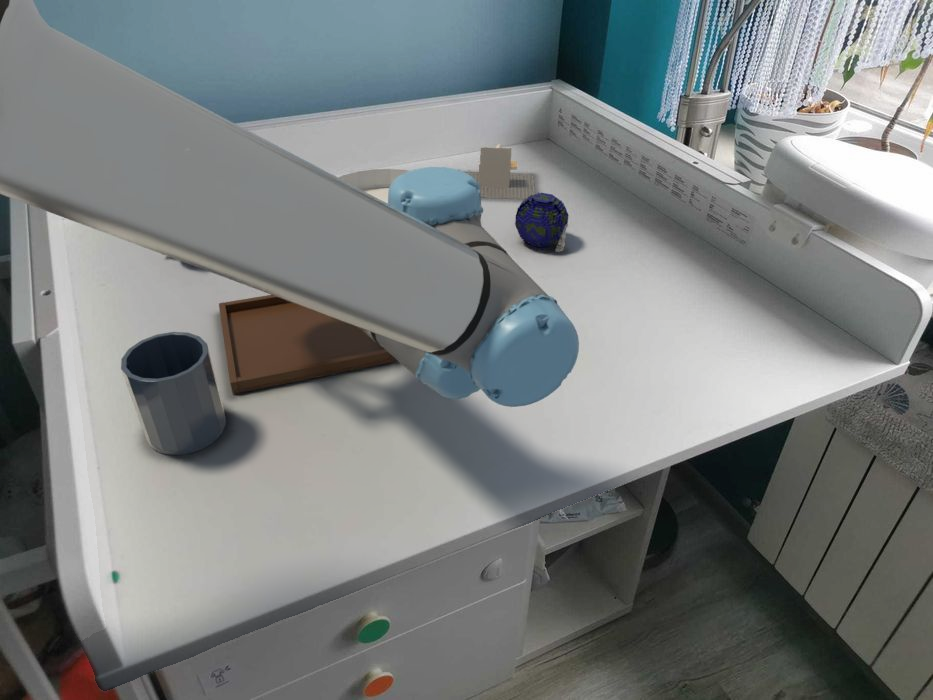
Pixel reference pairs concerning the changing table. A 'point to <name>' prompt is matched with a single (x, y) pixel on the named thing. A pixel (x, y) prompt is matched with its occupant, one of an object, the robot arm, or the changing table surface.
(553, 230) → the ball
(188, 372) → the slate cup
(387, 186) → the dish
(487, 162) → the architectural model
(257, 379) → the tray
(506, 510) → the changing table surface
